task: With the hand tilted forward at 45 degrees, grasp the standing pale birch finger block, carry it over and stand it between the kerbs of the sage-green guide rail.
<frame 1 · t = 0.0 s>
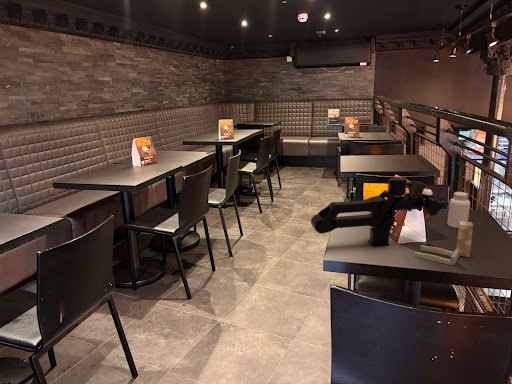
hand: (441, 200, 147), 17 cm above the table, tool horizontal, fingers open, 9 cm apart
pill bottle: (457, 226, 165), on the table
sage rail: (434, 256, 136), on the table
birch finger: (462, 253, 137), on the table
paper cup: (421, 218, 176), on the table
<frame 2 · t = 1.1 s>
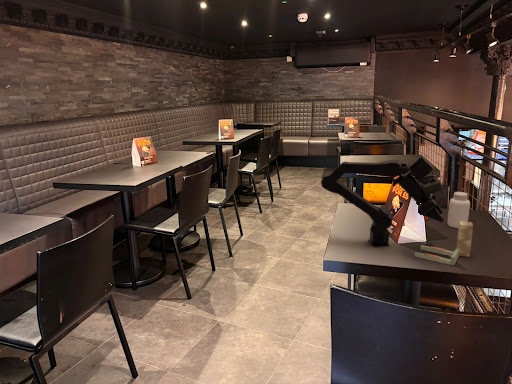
hand: (442, 217, 137), 14 cm above the table, tool tilted 45°, fingers open, 9 cm apart
nothing on the table moved.
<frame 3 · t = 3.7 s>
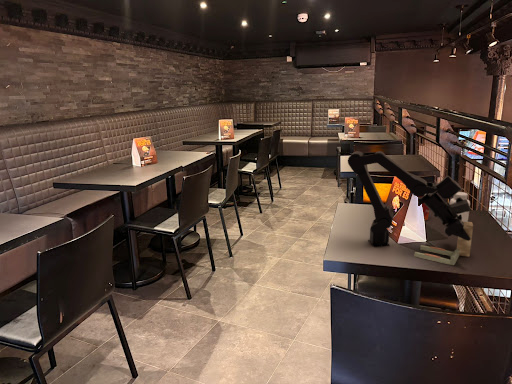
hand: (468, 237, 135), 7 cm above the table, tool tilted 45°, fingers closed on birch finger, 4 cm apart
birch finger: (462, 253, 137), on the table, touching gripper
everything else where it was.
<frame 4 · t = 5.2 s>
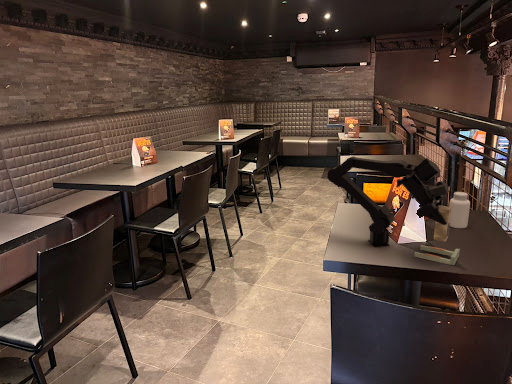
hand: (446, 222, 132), 13 cm above the table, tool tilted 45°, fingers closed on birch finger, 4 cm apart
birch finger: (440, 238, 135), point 7 cm above the table, touching gripper
everything else where it was.
when the fingers open (8 cm above the table, at t = 7.0 s): birch finger drops 1 cm, resting in sage rail.
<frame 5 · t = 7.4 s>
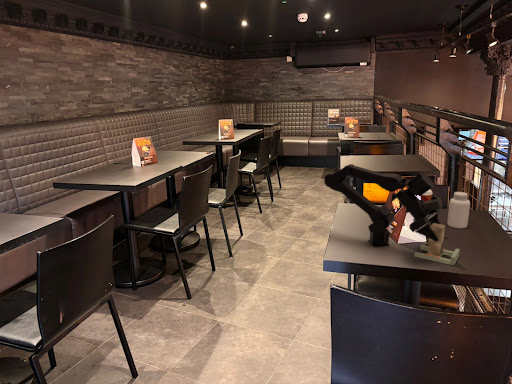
hand: (440, 236, 133), 8 cm above the table, tool tilted 45°, fingers open, 9 cm apart
birch finger: (434, 256, 136), resting in sage rail
everything else where it was.
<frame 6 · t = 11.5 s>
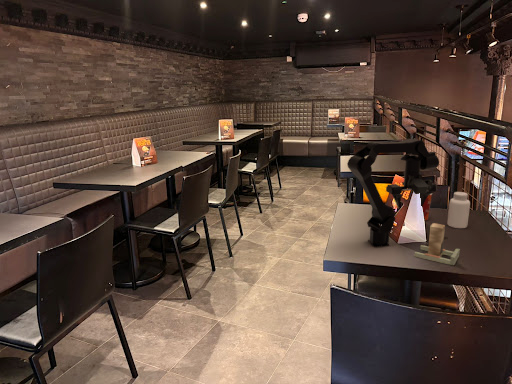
hand: (409, 208, 150), 13 cm above the table, tool pointing down, fingers open, 9 cm apart
nothing on the table moved.
at the end: birch finger inside the target area on the sage rail (0.0 cm from its centre), point 0.0 cm above the sage rail's base; birch finger tilted 0°; the gripper is holding nothing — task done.
